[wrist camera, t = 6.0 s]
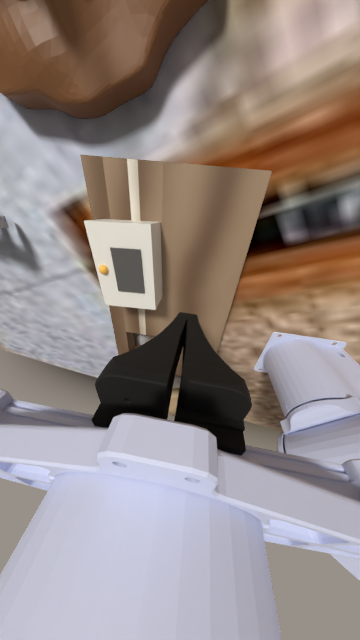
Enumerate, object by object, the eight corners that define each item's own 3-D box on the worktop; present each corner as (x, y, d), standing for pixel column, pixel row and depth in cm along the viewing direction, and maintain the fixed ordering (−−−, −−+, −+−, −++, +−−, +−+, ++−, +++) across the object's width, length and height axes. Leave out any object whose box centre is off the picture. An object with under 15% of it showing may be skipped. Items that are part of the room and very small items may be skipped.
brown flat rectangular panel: (261, 177, 13) (272, 171, 11) (208, 367, 27) (208, 380, 25) (98, 163, 14) (80, 154, 12) (127, 354, 28) (120, 365, 26)
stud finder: (160, 221, 14) (148, 224, 11) (162, 296, 18) (154, 312, 15) (105, 219, 14) (80, 220, 11) (119, 292, 18) (103, 307, 15)
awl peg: (192, 374, 28) (189, 408, 23) (189, 384, 30) (186, 418, 25) (174, 371, 29) (167, 404, 24) (173, 381, 30) (166, 415, 25)
